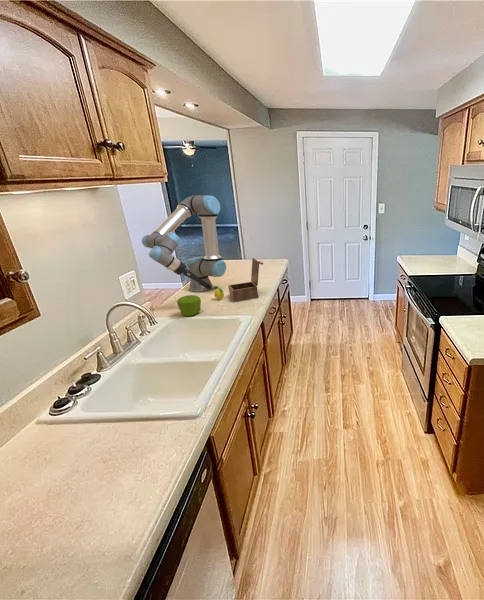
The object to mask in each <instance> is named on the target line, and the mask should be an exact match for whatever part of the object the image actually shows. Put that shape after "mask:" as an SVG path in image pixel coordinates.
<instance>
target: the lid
mask: <svg viewBox="0 0 484 600" xmlns="http://www.w3.org/2000/svg"><path fill="white" fill-rule="evenodd" d="M260 265H261V266H263V265H264V262H263V261H261V260H258V259H256V258H255V257H252V259H251V274H250V275H251V276H250V282H252V283H254V284H255V285H256V286H257V287H258V285H259V273H260Z"/></svg>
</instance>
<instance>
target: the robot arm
mask: <svg viewBox="0 0 484 600" xmlns="http://www.w3.org/2000/svg"><path fill="white" fill-rule="evenodd" d="M220 211H221V204H220V202H219V200H218V199H217V198H216V197H215V196H214V195H207V194H205V195H200V194H199V195H197V194H196V195H190V196H188V197H186V198H185V199H183V200H182V201H180V203H179V204H177V206H176V209H175V210H174V211H173V212H172V213H171V214H170V215H169V216H168V217H166V219H165V220H163V222H162V223H161V224H160V225H159V226H158V227H157V228H156V229H155V230H153V232H152V233H151V234H146V235H144V236H142V238H141V243H142V245H143V247H145V248H148V249H151V250H150V251H149V253H148V257H149V258H151V259H152V260H153V261H155V263H156V262H157V263H158V264H160V265H161V266H163V267H165V268H166V269H167V270H168V271H169V270H170V271H171V272H173V273H174V274H176V275H178V276H180V275H183V276H185V277H187V278H188V279H190V282H189V291H190V292H192V293H193V292H194V293H201V292H202V293H203V292H207V291H209V290H212V289H213V288H214V286H213V283H212V281H211V280H210V277H211V278H212V277H213V278H220V277H221V278H222V276H224V275H225V273H226V271H227V263H226V262H225V261H224V260H223V258H222V256H221V255H220V252H219V251H220V250H219V244H218V243H219V241H218V231H217V222H216V219H217V218H218V214H220ZM195 214H197V216H198V218H199V219H200V220H201V229H202V237H203V245H204V252H205V253H204V254H205V255H204V256H203V255H201V256H196V257H191V258H189V259H188V260H187V264H186V263H185V262H182V261H181V260H180V259H178V258H177V257H175V256H174V255H172V254H173V252H174V251H175V249H176V248H177V246H179V243H180V241H181V238H180V236H178V235H177V234H176V233H174V232H175V231H176V230H177V228H178V227H179V226H180V225H181V224H182V223H183V222H184V221H185V220H186V219H187V218H191V216H193V215H195ZM187 266H188V267H187Z"/></svg>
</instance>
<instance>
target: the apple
mask: <svg viewBox="0 0 484 600" xmlns="http://www.w3.org/2000/svg"><path fill="white" fill-rule="evenodd" d="M201 302H202V300H201V298H200V297H199V296H198V295H196V294H190V295H189V294H188V295H184V296H183V295H182V296H180V297H179V298H178V299H177V300H176V303H177V306H178V308H179V311H180V313H181V315H183V316H186V317H192V316H195V315H197V314H198V313H199V312H200V311H201Z"/></svg>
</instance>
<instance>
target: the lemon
mask: <svg viewBox="0 0 484 600" xmlns="http://www.w3.org/2000/svg"><path fill="white" fill-rule="evenodd" d="M212 289H213V290H214V297H215V299H218V300H220V301H221V299H223V298H224V296H225V293H224V290H222V289H221V288H220V287H219V286H218V285H214V286H213V288H212Z"/></svg>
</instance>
